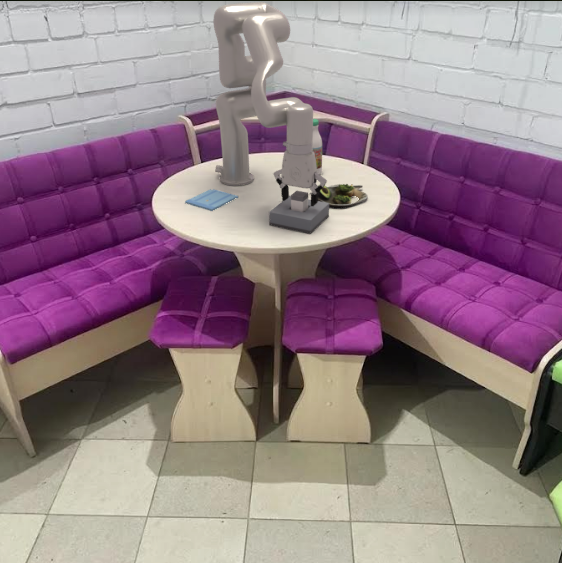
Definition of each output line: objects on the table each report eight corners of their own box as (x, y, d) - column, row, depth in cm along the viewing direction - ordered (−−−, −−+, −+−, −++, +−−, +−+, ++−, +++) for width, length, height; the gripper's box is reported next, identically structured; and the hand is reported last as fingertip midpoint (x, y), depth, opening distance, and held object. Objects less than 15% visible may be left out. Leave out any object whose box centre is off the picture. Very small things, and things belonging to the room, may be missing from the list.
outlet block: (269, 225, 174) (269, 211, 172) (289, 208, 185) (289, 195, 183) (310, 233, 169) (310, 220, 166) (328, 216, 179) (329, 203, 177)
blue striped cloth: (211, 191, 200) (211, 188, 199) (238, 199, 194) (237, 195, 193) (185, 204, 190) (184, 201, 190) (212, 212, 184) (211, 208, 184)
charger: (291, 219, 176) (290, 195, 172) (296, 214, 179) (296, 190, 175) (302, 221, 174) (302, 197, 170) (308, 216, 177) (308, 192, 173)
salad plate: (347, 183, 204) (347, 171, 202) (380, 199, 191) (381, 186, 189) (303, 195, 195) (303, 182, 193) (335, 213, 182) (336, 199, 180)
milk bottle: (297, 174, 212) (297, 120, 202) (308, 168, 217) (308, 116, 207) (314, 178, 208) (315, 124, 198) (325, 172, 214) (327, 119, 203)
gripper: (267, 147, 165) (269, 201, 174) (321, 155, 159) (320, 211, 167) (279, 140, 171) (280, 193, 180) (332, 147, 164) (330, 202, 173)
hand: (299, 202), depth 174 cm, fingers open, 9 cm apart
